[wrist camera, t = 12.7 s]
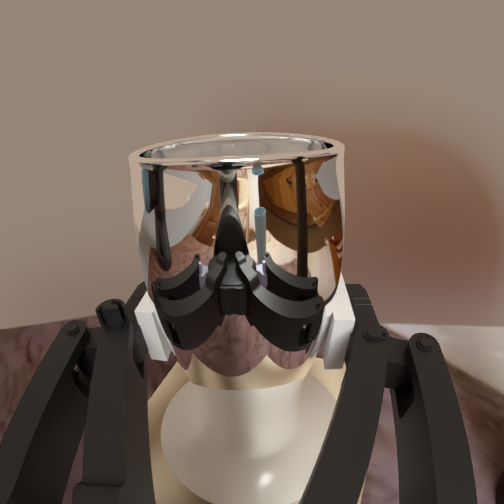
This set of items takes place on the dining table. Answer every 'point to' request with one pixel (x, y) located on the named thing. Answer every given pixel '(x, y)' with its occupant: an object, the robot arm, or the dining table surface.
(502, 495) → the flared trumpet-armed statue
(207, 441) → the saucer
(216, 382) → the beer glass
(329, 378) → the birch board
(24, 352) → the dining table surface
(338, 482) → the robot arm
